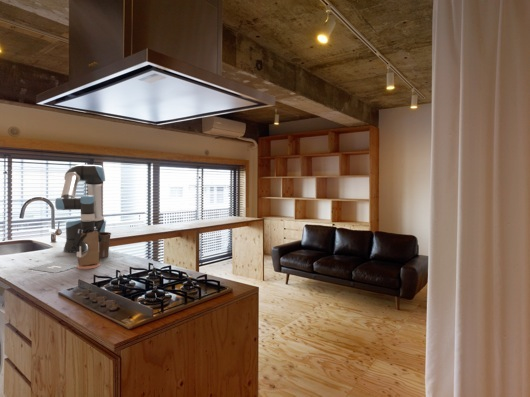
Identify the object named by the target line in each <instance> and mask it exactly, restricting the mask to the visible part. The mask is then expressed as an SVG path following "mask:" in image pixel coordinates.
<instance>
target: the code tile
mask: <svg viewBox="0 0 530 397" xmlns="http://www.w3.org/2000/svg"><path fill="white" fill-rule="evenodd" d="M77 265H78V264H77ZM77 265H76V264H75V265H74V264H69V263H68V264H67V263H60V262H49V263H46V264H45V263H44V264H41V265H38V266H35V267H30V268H29V270H31V271H32V270H33V271H39V272H45V273H46V272H47V273H53V274H58V273H61V272H65V271H68V270H72V269H76V268H77V267H76V266H77Z"/></svg>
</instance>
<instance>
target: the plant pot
mask: <svg viewBox="0 0 530 397" xmlns="http://www.w3.org/2000/svg"><path fill="white" fill-rule="evenodd" d="M99 233H100V235H101V237H102V240H101V242H100V246H99V259H105V258H108V257H109V253H110V240H111V235H112V232H107V231H105V232H99Z"/></svg>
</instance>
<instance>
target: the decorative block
mask: <svg viewBox="0 0 530 397" xmlns="http://www.w3.org/2000/svg"><path fill="white" fill-rule="evenodd" d="M83 235H85V233H82V234H81V237H82V236H83ZM81 237H80V238H81ZM82 242H84V243H86V246H87V250H85V253H83V254H81V257H77V265H79V266H83V265H90V264H97V263H100V258H99V238H98V232H97V231H94V232H89V233H87V236H86V237H85V238H84V240H83V241H82Z"/></svg>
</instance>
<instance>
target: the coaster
mask: <svg viewBox="0 0 530 397" xmlns="http://www.w3.org/2000/svg"><path fill="white" fill-rule="evenodd" d="M98 266H99V267H100V266H101V263H100V262H99V263H97V264H90V265H83V266H79V264H77V266H76V267H75V268H76V269H78V270H91V269H95V268H98Z"/></svg>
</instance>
